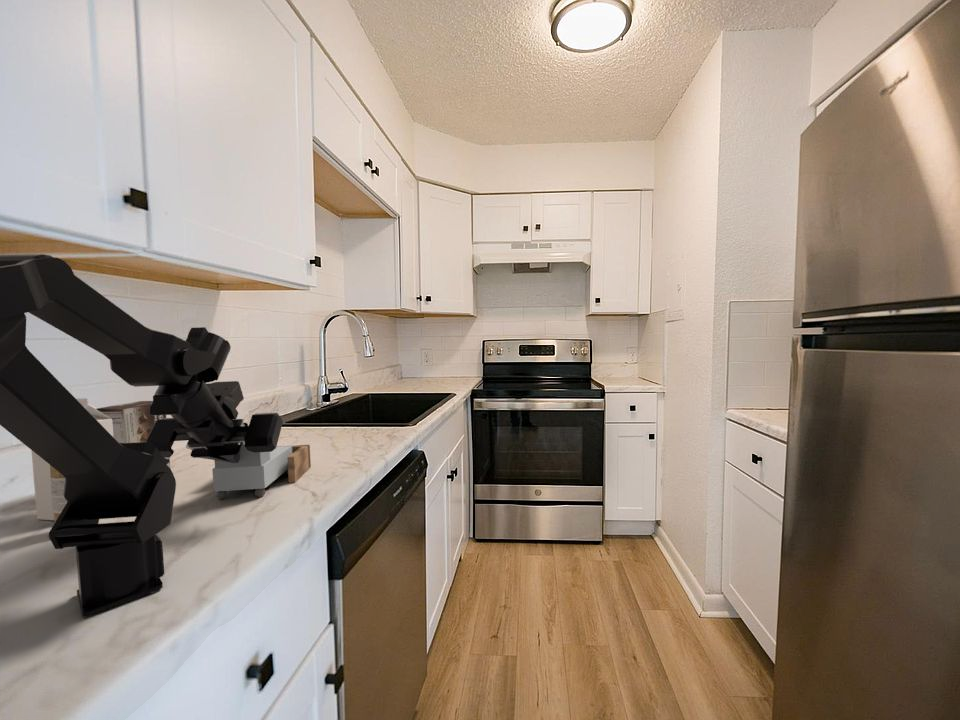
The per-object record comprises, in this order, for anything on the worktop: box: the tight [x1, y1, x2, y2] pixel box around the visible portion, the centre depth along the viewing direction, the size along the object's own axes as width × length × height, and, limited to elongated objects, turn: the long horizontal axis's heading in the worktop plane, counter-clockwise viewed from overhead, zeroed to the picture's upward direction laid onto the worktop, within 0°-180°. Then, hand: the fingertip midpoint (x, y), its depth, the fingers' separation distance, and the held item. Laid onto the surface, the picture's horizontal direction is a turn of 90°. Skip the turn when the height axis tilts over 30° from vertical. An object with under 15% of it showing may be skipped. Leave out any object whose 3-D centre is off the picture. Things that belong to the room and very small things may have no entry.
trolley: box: [212, 442, 293, 500], centre depth 79 cm, size 15×8×10 cm, turn 5°
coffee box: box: [96, 400, 171, 469], centre depth 82 cm, size 9×6×16 cm
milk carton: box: [30, 397, 114, 521], centre depth 69 cm, size 7×7×19 cm
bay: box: [276, 444, 312, 484], centre depth 84 cm, size 10×14×5 cm
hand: (236, 460), depth 72 cm, fingers closed, pressing on trolley
